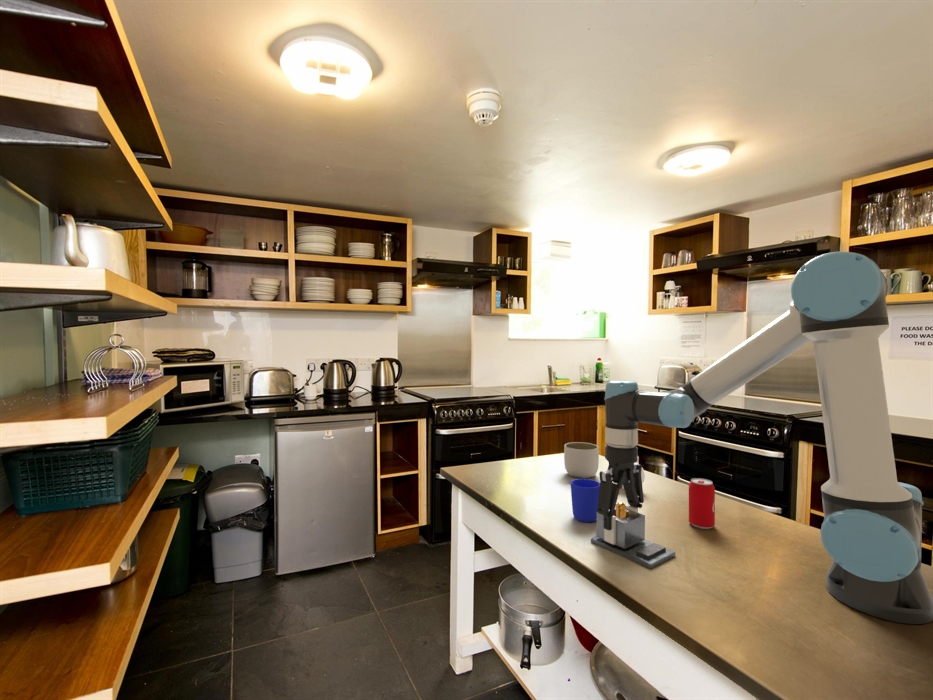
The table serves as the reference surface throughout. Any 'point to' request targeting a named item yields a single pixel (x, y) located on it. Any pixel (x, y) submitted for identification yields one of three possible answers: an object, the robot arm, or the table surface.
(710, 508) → the beverage can
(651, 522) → the table surface
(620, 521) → the hollow square tube
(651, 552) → the keeper
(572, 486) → the mug
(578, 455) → the planter
